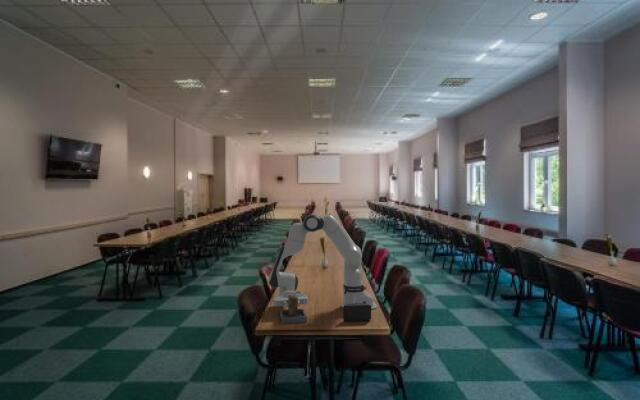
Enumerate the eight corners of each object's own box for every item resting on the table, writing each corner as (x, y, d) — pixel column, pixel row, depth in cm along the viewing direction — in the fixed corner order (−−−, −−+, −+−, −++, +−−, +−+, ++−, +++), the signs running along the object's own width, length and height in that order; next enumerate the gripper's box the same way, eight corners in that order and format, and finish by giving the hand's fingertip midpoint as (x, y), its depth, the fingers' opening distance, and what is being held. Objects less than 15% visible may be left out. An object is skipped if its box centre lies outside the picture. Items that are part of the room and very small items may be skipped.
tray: (303, 313, 218) (303, 308, 218) (307, 322, 205) (307, 316, 205) (280, 315, 216) (280, 310, 216) (282, 323, 202) (282, 318, 202)
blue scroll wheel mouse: (369, 318, 211) (369, 302, 211) (371, 321, 207) (371, 304, 207) (341, 319, 209) (342, 303, 209) (343, 322, 205) (343, 305, 205)
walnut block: (295, 312, 213) (296, 295, 213) (297, 314, 209) (297, 297, 208) (288, 312, 212) (288, 295, 211) (289, 315, 207) (290, 298, 207)
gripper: (271, 294, 219) (275, 300, 206) (304, 291, 225) (310, 298, 212) (271, 304, 220) (275, 311, 206) (304, 301, 225) (310, 309, 212)
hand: (293, 304), depth 209 cm, fingers closed on walnut block, 4 cm apart
